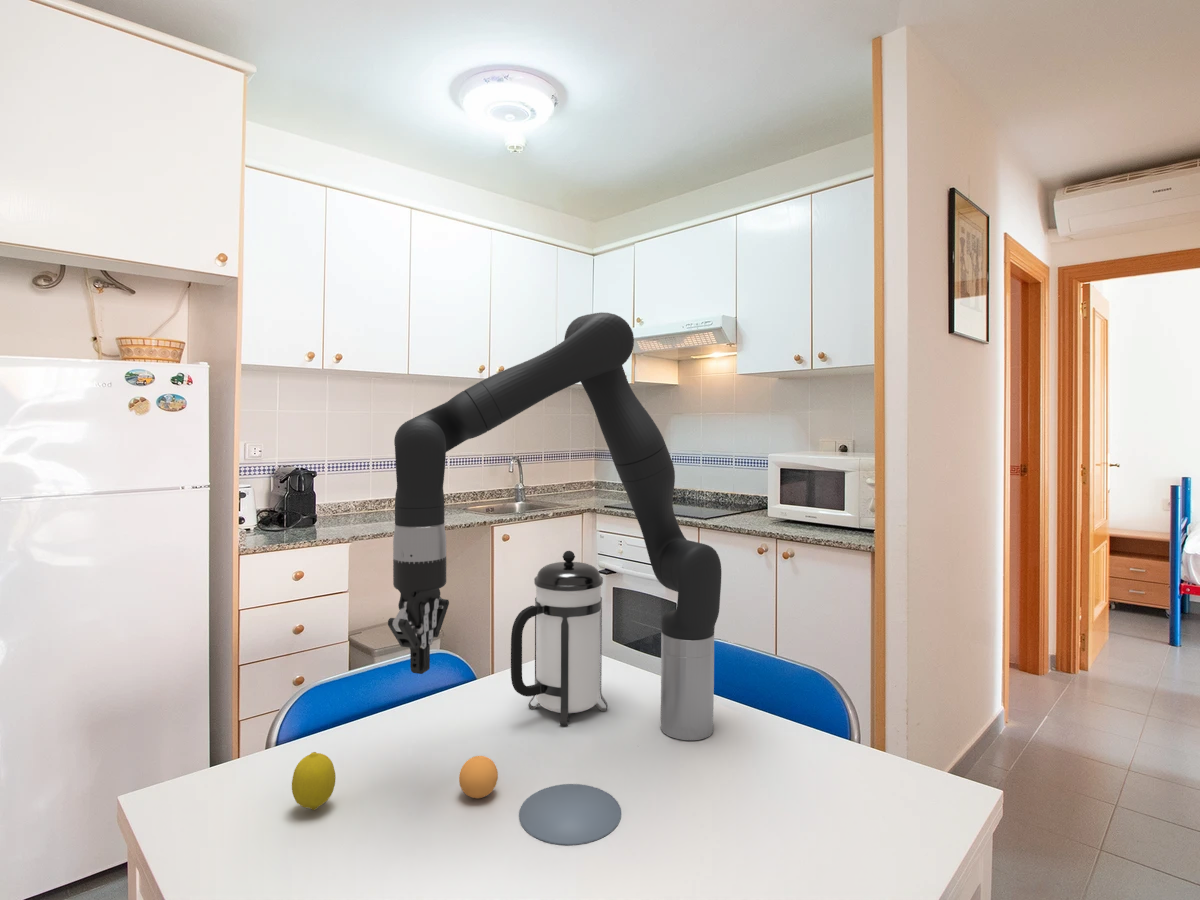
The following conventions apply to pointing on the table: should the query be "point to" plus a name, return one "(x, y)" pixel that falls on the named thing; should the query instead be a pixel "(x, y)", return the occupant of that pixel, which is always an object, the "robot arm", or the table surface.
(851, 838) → the table surface
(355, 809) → the table surface
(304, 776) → the lemon
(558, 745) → the table surface
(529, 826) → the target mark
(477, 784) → the ball
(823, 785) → the table surface
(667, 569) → the robot arm
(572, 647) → the coffee press
